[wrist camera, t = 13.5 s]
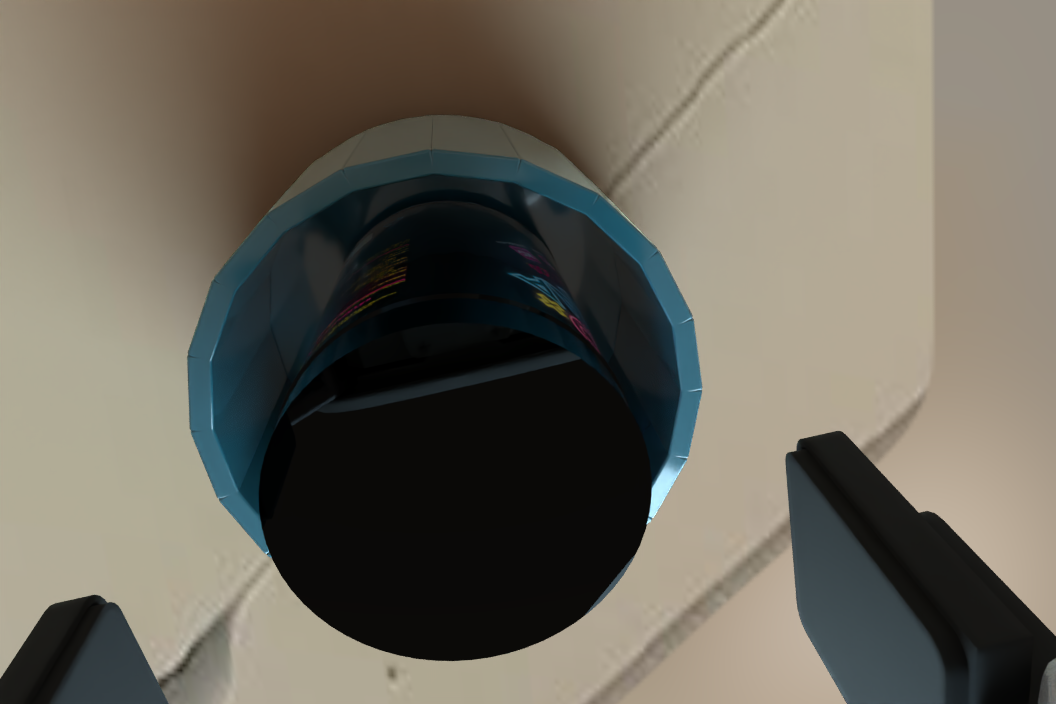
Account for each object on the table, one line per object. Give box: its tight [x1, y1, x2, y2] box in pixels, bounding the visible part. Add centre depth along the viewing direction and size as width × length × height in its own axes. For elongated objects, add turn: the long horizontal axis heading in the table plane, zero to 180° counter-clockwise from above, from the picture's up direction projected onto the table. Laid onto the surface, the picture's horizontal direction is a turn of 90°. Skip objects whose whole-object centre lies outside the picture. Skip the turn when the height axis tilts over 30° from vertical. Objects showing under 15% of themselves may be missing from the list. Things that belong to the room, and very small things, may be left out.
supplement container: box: [259, 200, 652, 661], centre depth 19 cm, size 7×7×10 cm
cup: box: [187, 115, 702, 558], centre depth 21 cm, size 11×11×7 cm
